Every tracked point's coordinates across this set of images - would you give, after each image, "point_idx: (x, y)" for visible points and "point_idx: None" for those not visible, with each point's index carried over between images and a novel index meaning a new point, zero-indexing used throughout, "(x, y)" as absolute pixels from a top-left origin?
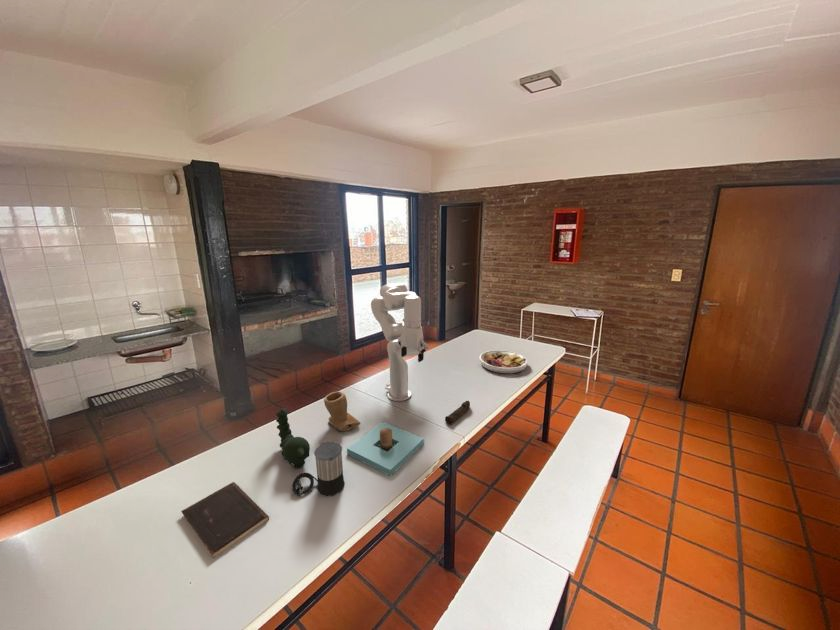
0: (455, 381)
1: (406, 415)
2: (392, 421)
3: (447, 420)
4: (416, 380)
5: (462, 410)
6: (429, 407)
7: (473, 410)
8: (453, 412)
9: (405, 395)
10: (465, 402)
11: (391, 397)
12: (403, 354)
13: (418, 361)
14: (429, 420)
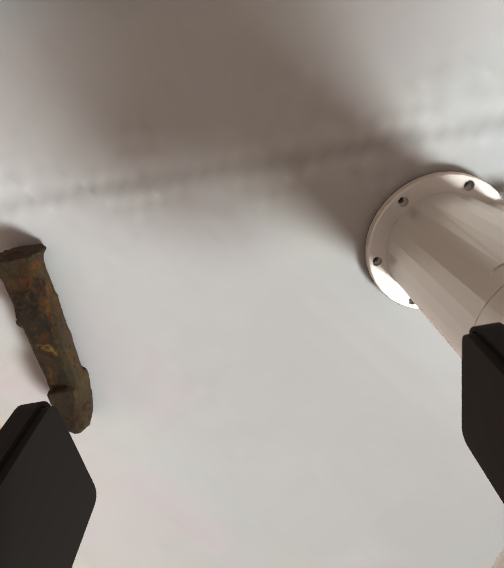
0: (309, 510)
1: (240, 128)
2: (246, 9)
3: (21, 249)
4: None
5: (38, 360)
6: (216, 280)
7: None
8: (37, 312)
9: (388, 253)
10: (70, 413)
11: (445, 181)
12: (482, 376)
13: (30, 404)
14: (113, 194)
